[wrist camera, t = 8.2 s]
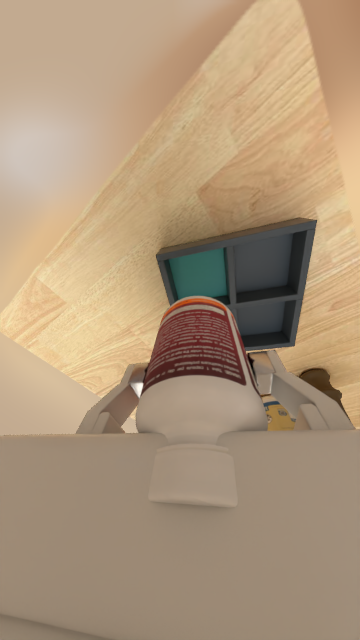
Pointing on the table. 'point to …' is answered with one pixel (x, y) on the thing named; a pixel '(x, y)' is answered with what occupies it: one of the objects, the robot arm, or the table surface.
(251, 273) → the divided tray
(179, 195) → the table surface
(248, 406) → the pill bottle
